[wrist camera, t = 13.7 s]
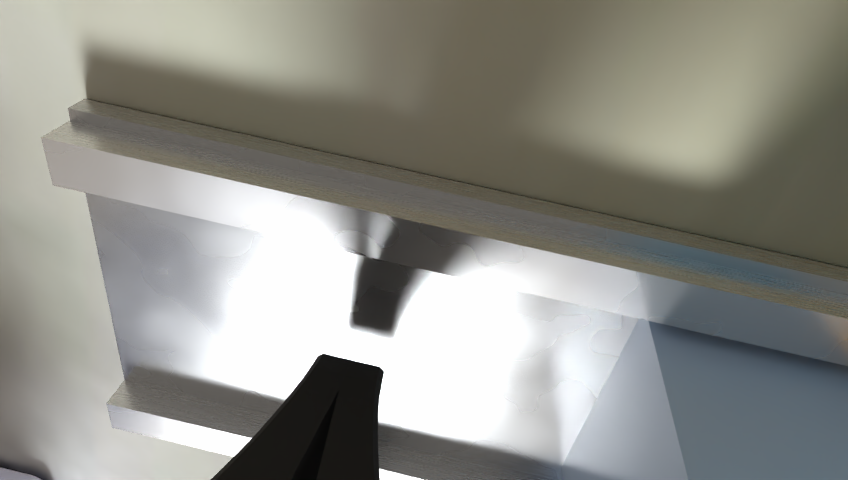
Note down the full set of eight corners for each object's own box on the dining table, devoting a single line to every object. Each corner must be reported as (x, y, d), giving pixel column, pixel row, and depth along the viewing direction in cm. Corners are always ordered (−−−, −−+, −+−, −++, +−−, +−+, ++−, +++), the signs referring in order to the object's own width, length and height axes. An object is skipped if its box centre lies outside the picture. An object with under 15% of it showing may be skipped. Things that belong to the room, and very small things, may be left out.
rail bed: (140, 395, 16) (57, 510, 14) (84, 98, 11) (-68, 183, 8) (765, 544, 16) (817, 697, 13) (1011, 304, 11) (1188, 471, 8)
